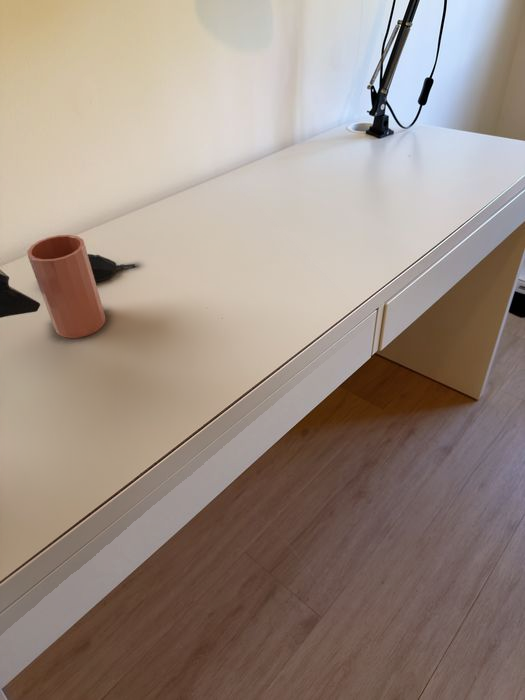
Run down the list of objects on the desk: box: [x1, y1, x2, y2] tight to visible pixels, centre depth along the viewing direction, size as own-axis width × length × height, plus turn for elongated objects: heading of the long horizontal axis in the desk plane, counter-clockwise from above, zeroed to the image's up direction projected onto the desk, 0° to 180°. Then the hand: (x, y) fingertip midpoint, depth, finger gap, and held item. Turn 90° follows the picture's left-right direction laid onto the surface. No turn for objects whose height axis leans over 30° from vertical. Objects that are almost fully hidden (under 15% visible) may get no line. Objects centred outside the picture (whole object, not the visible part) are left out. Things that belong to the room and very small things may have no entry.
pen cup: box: [27, 234, 106, 339], centre depth 71 cm, size 7×7×12 cm
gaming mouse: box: [87, 253, 136, 283], centre depth 84 cm, size 6×15×4 cm, turn 109°
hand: (22, 293), depth 67 cm, fingers open, 9 cm apart
